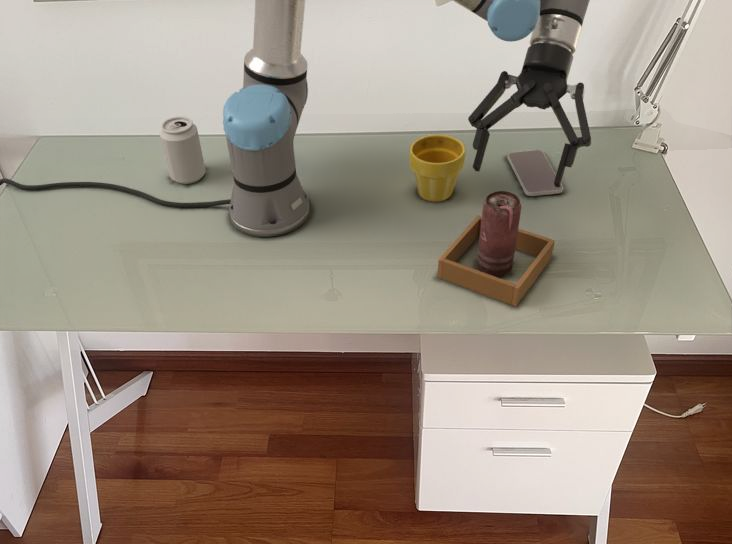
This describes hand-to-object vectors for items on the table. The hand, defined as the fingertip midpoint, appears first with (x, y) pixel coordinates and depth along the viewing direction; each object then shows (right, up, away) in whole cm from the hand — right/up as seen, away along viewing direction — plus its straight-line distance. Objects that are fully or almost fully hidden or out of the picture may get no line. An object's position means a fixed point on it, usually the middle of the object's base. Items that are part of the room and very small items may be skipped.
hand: (515, 177), depth 125 cm
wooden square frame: (-2, -14, +6) cm, 16 cm away
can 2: (-2, -15, +6) cm, 16 cm away
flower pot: (-10, +2, +23) cm, 25 cm away
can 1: (-60, +7, +32) cm, 69 cm away
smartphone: (+10, +6, +25) cm, 28 cm away
